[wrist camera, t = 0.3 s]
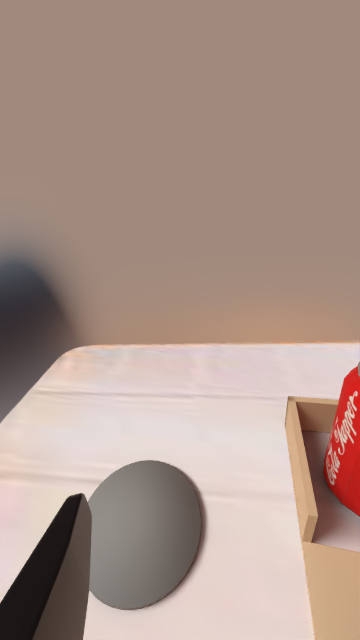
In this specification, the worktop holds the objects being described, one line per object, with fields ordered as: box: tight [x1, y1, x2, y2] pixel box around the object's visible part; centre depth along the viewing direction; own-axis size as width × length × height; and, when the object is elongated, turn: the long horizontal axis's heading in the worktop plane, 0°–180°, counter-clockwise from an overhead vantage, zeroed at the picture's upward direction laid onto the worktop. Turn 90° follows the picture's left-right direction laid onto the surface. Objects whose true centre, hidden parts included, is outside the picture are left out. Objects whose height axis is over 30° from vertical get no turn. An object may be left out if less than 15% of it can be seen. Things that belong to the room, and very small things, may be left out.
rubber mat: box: [88, 460, 201, 610], centre depth 22 cm, size 10×10×1 cm
